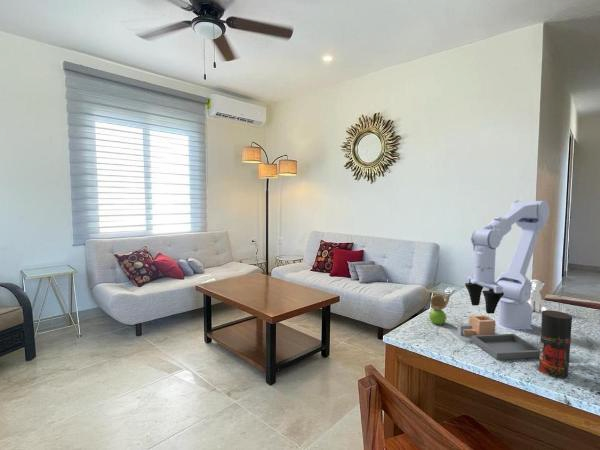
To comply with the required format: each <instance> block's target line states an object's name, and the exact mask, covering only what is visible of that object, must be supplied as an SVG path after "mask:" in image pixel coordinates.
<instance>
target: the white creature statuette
mask: <svg viewBox="0 0 600 450" xmlns="http://www.w3.org/2000/svg"><path fill="white" fill-rule="evenodd" d="M530 282H531V283H532V287H531V296H530V298H529V300H528V301H527V302H528V303H529V304H530V306H531V308H532V313H533V312H535V313H541V314H542V311H545V310H549V308H548V306H545V305H544V304H543V301H542V299H543V298H542V295H541V293H540V292H541V291H542V290H543V287H544V285H545V284H546V283H542V281H541V280H538V279H531V280H530Z"/></svg>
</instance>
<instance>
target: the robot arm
mask: <svg viewBox="0 0 600 450" xmlns="http://www.w3.org/2000/svg"><path fill="white" fill-rule="evenodd" d="M550 214H551V210H550V205H549V203H548V201H546V200H514V202H512V203H511V204H510V209H509V210H508V211H507V212H506V214H504V215H503V216H496V217H494V219H493V220H491V221H490V222H489V223H488V224H486V225H485V226H484V227H483V228H477V229H475V230H474V231H473V232H472V235H471V237H470V240H471V244H472V250H473V252H474V264H473V266H474V268H473V274H472V275H470V274H469V275H467V278H466V279H467V282H465V284H464V285H465V287H466V289H467V291H468V294H469V298H470V303H471V306H479V305H480V303H481V296H482V294H483V297H484V301H485V312H486V314H491V315H493V314H495V311H496V309H497V319H496V320H494V321H495V325H497V326H499V327H500V328H502V329H504V330H507V331H511V330H515V331H517V330H533V329H534V328H533V327H532V323H533V322H532V321H533V320H532V319H533V312H532V308H531V306H530V304H529V303H528V302H527V301H528V300H529V298H530V296H531V287H532V283H531V282H530V281H531V280H530V279H529V278H528V277H527V276H526V274H527V271H528V269H529V265H530V262H531V259H532V257H533V254H534V251H535V248H536V244H537V242H538V239H539V236H540V233H541V230H542V229H544V228H545V227H546V226H547V224H548V220H549V217H550ZM514 224H516V226H518V227H519V228H521V232H520V236H519V238H518V241H517V244H516V247H515V250H514V253H513V256H512V258H511V261H510V263H509V266H508V269H507V270H506V271H503V272H502V273H499V274H498V276H497V278H496V280H495V276H496V275H495V272H496V256H497V255H496V253H497V252H496V251H497V248H499V246H500V245H501V241H502V240H503V239H504V237H505V236H506V235H507V234H508V233H509V232H510V231H511V230H512V229H513V227H512V225H514ZM484 288H485V289H487V290H484Z"/></svg>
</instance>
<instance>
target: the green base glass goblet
mask: <svg viewBox="0 0 600 450" xmlns="http://www.w3.org/2000/svg"><path fill="white" fill-rule="evenodd" d="M447 292H448V293H447V294H445V298H444V297H443V296H442V295H439V294H435V295H433V296H431V298H430V304H431V305H430V308H431V311H430V312H429V320H430V322H431V323H432V324H434V325H438V326H440V325H444V324H445V322H447V314H446V312H445V311H444V309H446V308H447V306H448V304H449V301H450V297H451V294H450V293H451V291H450V290H448V291H447Z"/></svg>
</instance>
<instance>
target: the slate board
mask: <svg viewBox="0 0 600 450" xmlns="http://www.w3.org/2000/svg"><path fill="white" fill-rule="evenodd" d="M447 330H448V331H449V332H450V333H452V334H453V335H455V336H456V337H457V338H458V339H459V340H461V341H463V342H465V341H466V342H467V341H471V336H473V335H464V334H463V335H462V336H460V335H459V334H458V333H457V330H458V328H447ZM463 330H467V329H463ZM497 334H498V333H497V332H496V331H495V335H497Z"/></svg>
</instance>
